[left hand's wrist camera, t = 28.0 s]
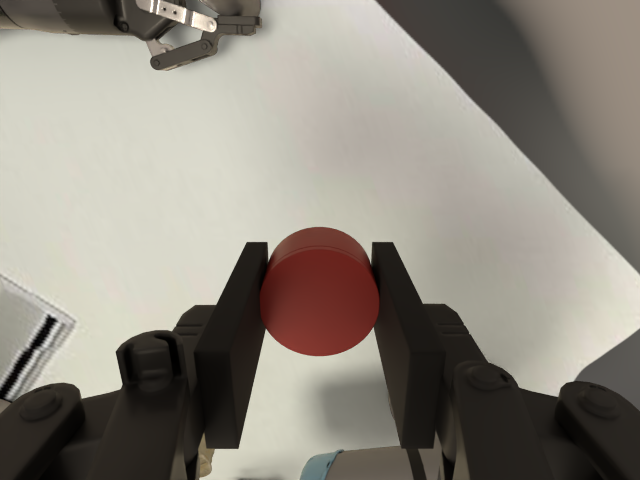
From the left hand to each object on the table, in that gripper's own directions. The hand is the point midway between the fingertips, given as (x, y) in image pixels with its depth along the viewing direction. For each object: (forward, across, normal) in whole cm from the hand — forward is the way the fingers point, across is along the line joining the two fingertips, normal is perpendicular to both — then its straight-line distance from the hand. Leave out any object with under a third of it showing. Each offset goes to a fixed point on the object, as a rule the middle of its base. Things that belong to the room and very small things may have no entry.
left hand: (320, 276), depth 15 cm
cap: (-2, 0, 0) cm, 2 cm away
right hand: (+28, +6, -15) cm, 32 cm away
